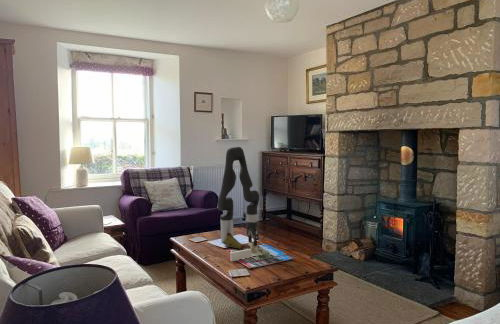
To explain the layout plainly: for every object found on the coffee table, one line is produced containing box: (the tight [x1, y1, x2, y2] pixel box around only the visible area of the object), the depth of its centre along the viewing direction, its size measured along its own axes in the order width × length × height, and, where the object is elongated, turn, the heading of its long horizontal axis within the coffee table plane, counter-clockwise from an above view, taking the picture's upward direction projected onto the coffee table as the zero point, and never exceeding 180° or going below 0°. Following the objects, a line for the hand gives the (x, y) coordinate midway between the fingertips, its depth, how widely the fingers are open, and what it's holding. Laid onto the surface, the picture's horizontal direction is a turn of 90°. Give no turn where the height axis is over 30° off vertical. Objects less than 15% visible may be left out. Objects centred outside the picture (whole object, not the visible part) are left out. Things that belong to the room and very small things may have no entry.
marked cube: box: [247, 241, 259, 253], centre depth 240 cm, size 5×5×6 cm
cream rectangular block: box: [229, 248, 252, 262], centre depth 228 cm, size 2×14×6 cm, turn 114°
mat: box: [243, 247, 264, 257], centre depth 240 cm, size 16×7×1 cm, turn 24°
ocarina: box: [222, 233, 245, 250], centre depth 251 cm, size 20×5×10 cm, turn 50°
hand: (252, 243), depth 240 cm, fingers open, 8 cm apart
